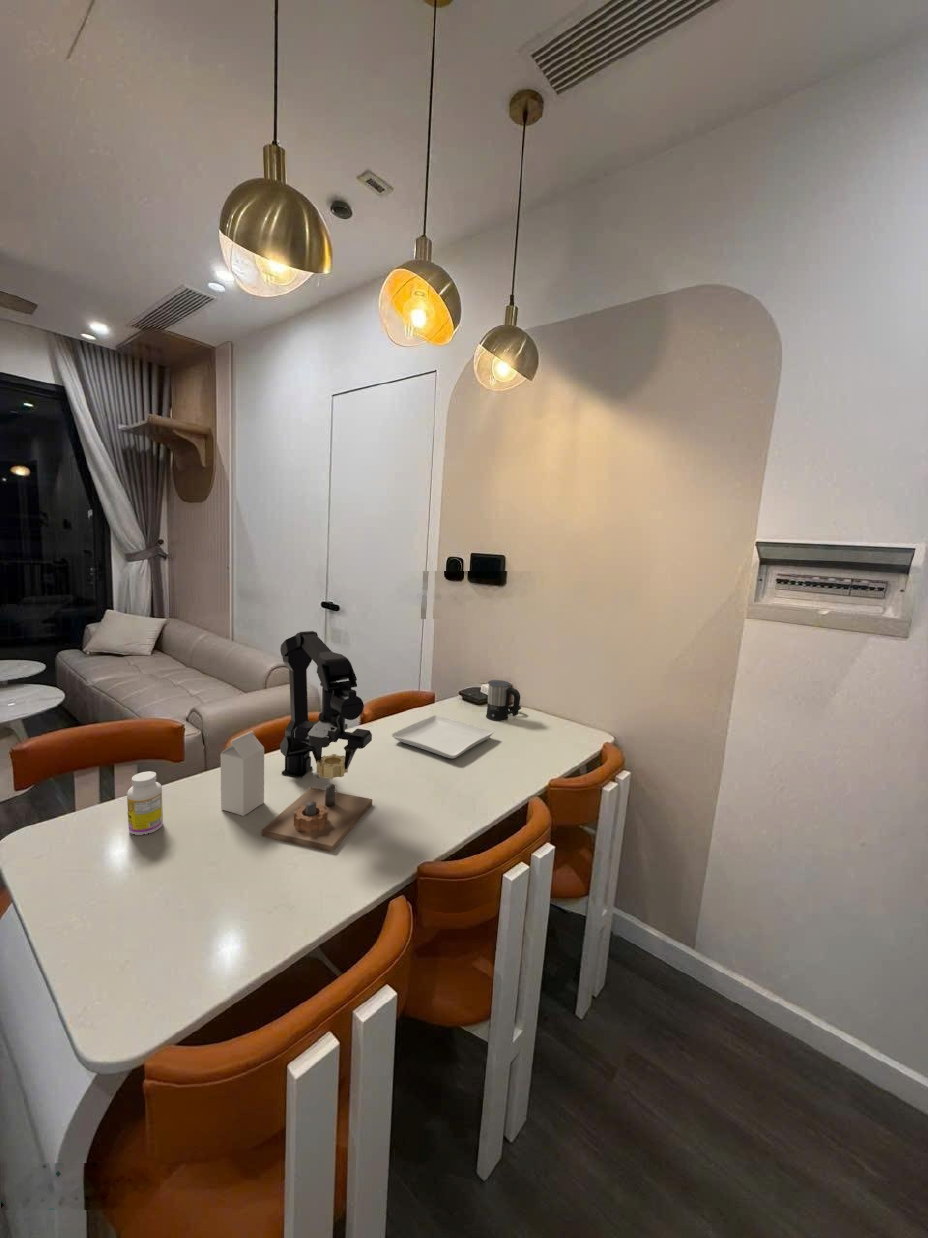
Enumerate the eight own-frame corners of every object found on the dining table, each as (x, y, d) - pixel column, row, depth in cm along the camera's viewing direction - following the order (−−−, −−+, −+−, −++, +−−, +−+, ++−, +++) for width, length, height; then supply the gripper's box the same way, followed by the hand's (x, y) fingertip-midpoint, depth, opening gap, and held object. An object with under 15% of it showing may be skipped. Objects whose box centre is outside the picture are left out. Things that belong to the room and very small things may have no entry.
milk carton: (264, 803, 124) (264, 733, 121) (243, 817, 117) (243, 743, 114) (242, 796, 126) (242, 728, 123) (220, 810, 120) (219, 737, 117)
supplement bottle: (132, 822, 112) (130, 771, 110) (165, 818, 115) (164, 767, 113) (125, 839, 106) (122, 784, 104) (159, 834, 109) (158, 781, 107)
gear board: (261, 835, 110) (261, 809, 109) (311, 792, 131) (311, 769, 130) (332, 852, 106) (333, 825, 105) (372, 804, 127) (373, 781, 126)
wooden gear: (311, 776, 119) (311, 764, 119) (326, 763, 126) (326, 752, 126) (338, 781, 117) (339, 769, 117) (352, 767, 125) (352, 757, 124)
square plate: (494, 740, 175) (495, 730, 174) (453, 766, 152) (454, 755, 151) (434, 722, 189) (435, 712, 188) (388, 743, 166) (389, 733, 165)
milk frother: (484, 719, 194) (486, 684, 192) (488, 707, 210) (491, 674, 207) (519, 724, 192) (522, 688, 190) (521, 711, 207) (524, 678, 205)
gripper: (281, 712, 113) (280, 774, 116) (354, 723, 109) (352, 787, 112) (306, 698, 124) (305, 755, 126) (373, 708, 120) (371, 767, 123)
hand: (332, 766), depth 122 cm, fingers closed on wooden gear, 7 cm apart
